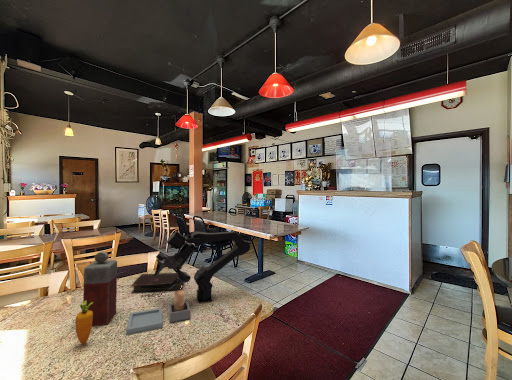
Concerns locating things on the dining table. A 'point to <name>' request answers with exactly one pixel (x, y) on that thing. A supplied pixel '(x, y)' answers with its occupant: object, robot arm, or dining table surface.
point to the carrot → (84, 323)
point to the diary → (155, 283)
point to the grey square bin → (179, 313)
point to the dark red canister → (101, 288)
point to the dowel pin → (179, 300)
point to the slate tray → (144, 321)
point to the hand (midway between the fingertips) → (160, 283)
